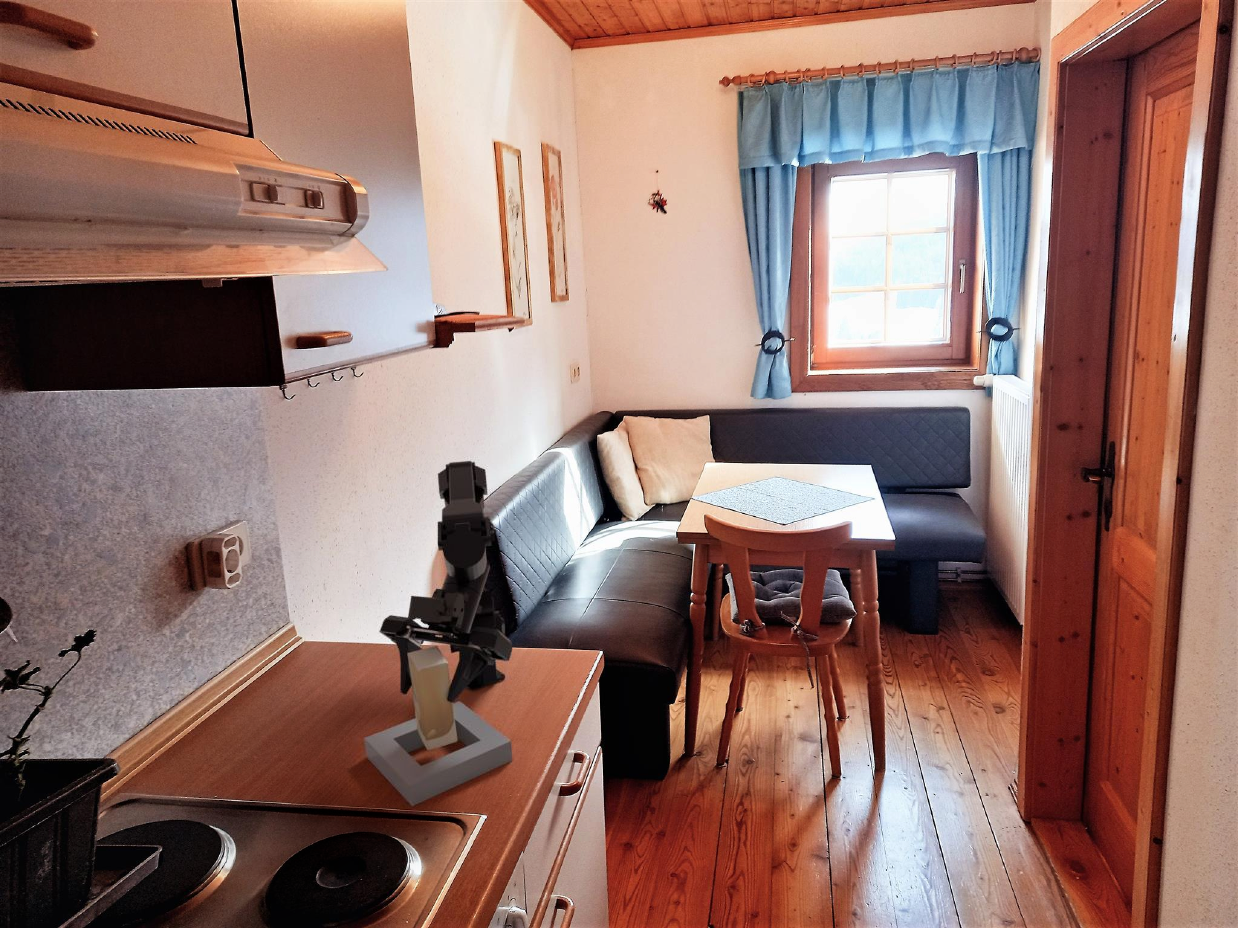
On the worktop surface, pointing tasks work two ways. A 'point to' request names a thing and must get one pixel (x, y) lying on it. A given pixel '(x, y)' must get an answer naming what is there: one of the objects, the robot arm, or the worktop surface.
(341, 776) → the worktop surface
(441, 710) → the skincare box
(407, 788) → the plate
